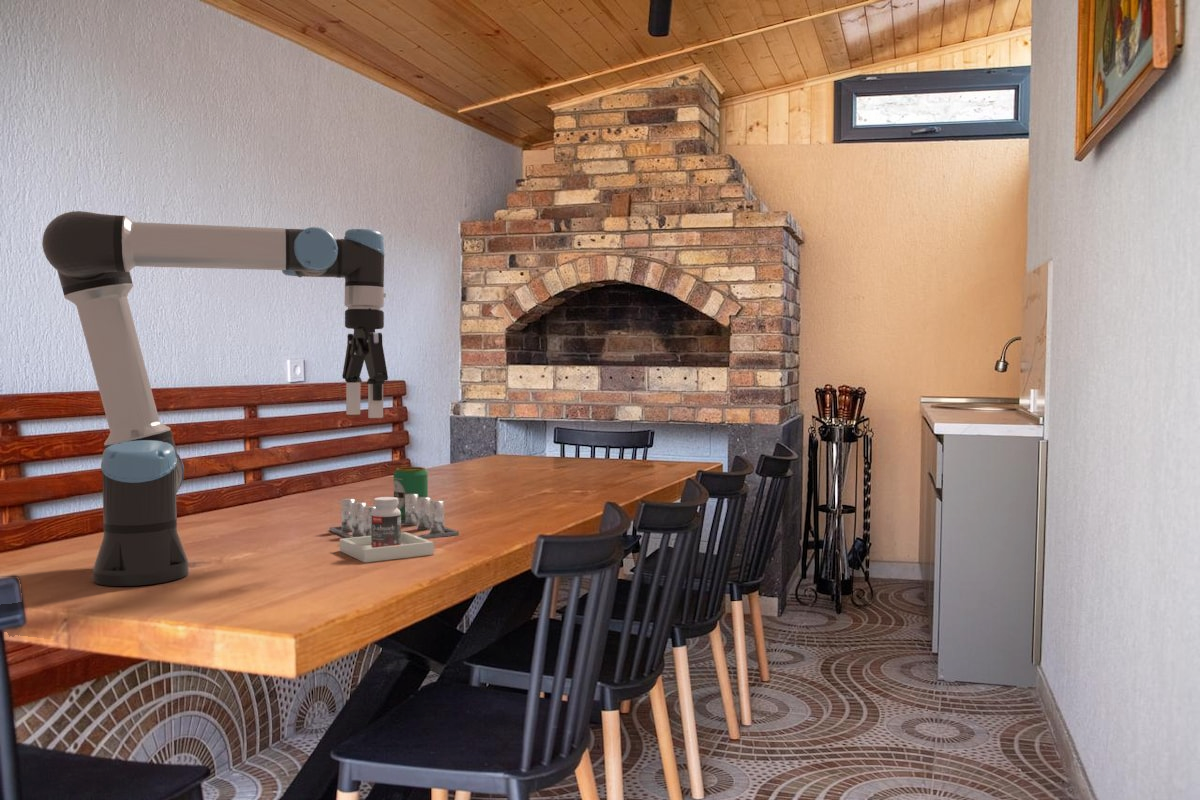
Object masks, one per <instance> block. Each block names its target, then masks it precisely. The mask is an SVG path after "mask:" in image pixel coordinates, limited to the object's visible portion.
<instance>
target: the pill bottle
mask: <svg viewBox="0 0 1200 800" xmlns="http://www.w3.org/2000/svg"><path fill="white" fill-rule="evenodd" d="M398 504H399V502H398V498H396V497H394V496H381V497H375V498H374V499H373V506H375V509H374V510H373V511H372V514H371V546H372V548H376V547H385V546H395V545H401V533H402V524H401V521H402V520H401V512H400V510H399V509H398V508H397V505H398Z"/></svg>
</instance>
